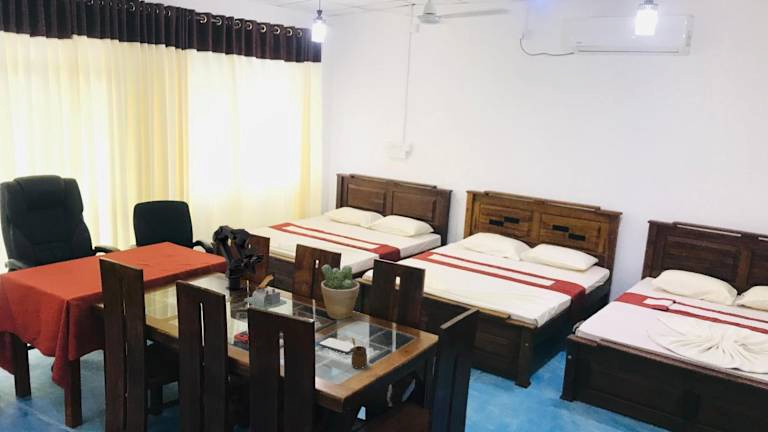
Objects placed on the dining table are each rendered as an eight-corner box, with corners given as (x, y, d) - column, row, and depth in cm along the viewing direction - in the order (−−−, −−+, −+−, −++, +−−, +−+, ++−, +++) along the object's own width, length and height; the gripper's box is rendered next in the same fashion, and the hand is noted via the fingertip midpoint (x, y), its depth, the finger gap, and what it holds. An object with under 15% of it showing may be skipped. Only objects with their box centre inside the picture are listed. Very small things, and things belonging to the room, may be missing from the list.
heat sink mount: (244, 301, 289) (244, 286, 287) (264, 295, 299) (264, 281, 297) (265, 309, 278) (265, 294, 277) (286, 303, 288) (286, 289, 286)
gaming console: (275, 319, 261) (290, 323, 255) (275, 325, 262) (290, 329, 255) (231, 334, 243) (246, 339, 236) (232, 340, 243) (246, 345, 237)
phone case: (316, 346, 238) (347, 356, 229) (316, 343, 238) (347, 352, 229) (330, 340, 245) (360, 349, 237) (330, 336, 245) (360, 345, 236)
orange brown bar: (258, 291, 288) (257, 288, 289) (263, 289, 290) (261, 287, 291) (269, 279, 282) (267, 275, 282) (273, 277, 284) (271, 275, 284)
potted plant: (346, 306, 287) (348, 258, 282) (366, 318, 272) (368, 267, 267) (314, 312, 277) (314, 262, 272) (332, 324, 262) (333, 272, 257)
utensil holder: (369, 366, 220) (370, 337, 218) (356, 370, 216) (357, 340, 214) (361, 361, 225) (362, 332, 223) (347, 364, 221) (348, 335, 219)
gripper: (233, 243, 284) (246, 269, 279) (263, 238, 298) (276, 263, 293) (224, 256, 291) (237, 281, 286) (254, 250, 305) (267, 274, 300)
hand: (255, 274), depth 291 cm, fingers closed
